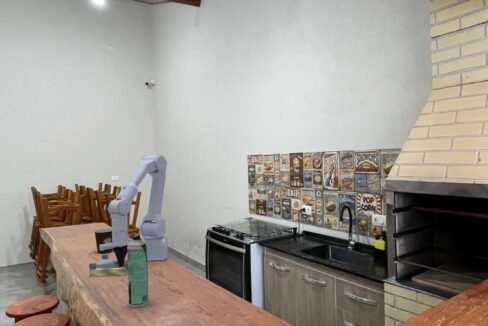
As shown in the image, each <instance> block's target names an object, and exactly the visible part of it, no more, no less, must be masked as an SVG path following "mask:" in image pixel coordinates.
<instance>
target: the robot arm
mask: <svg viewBox="0 0 488 326" xmlns="http://www.w3.org/2000/svg"><path fill="white" fill-rule="evenodd" d="M137 163H138V167H137V168H136V170H135V172H134V174H133V175H132V178H131V179H130V181H129V182H127V183H125V184H123V185H122V188H121V190H120V191H119V193H118V194H117V195H116V198H114V199H113V200H111V201H110V202H109V204H108V207H107V211H108V213H109V215H110V219H111V229H112V242H111V243H106V244H101V245H100V250H101V251H103V250H106V249H113V251H112V252H113V253H114V255H115V257H116V258H115V259H117V260H118V265H119V267H120V268H124V266H123V265H124V260H125V259H126V257H127V247H128V243H130V242H131V241H132V239H129V229H128V228H129V227H128V224H129V223H128V222H129V221H128V214H129V212H130V211H131V209H132V205H133V203H132V202H133V201H134V199H135V198H136V195H137V194H138V191H139V189H138V187H139V185H140V184H141V183H142V182H143V179H145V177H146V176H147V174H148V175H150V176H151V180H152V181H151V188H150V194H149V201H148V209H147V214H146V215H144V217H142V222H141V224H140V226H139V233H140V235H141V236H142V239H143V241H144V242H146V243H147V244H146V245H147V262H151V261H153V262H155V261H165V260H166V259H167V258H168V256H169V254H168V253H169V251H168V248H169V247H168V238H167V237H165V236H164V235H165V233H166V224H165V223H166V219H165V218H163V216H162V207H163V202H164V201H163V200H164V191H165V185H166V178H167V177H166V176H167V175H166V174H167V172H166V171H167V167H168V160H167V159H166V158H165V156H164V155H162V154H149V155H148V154H144V155H142V156H141V157H140V159H139V160H138V162H137Z"/></svg>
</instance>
